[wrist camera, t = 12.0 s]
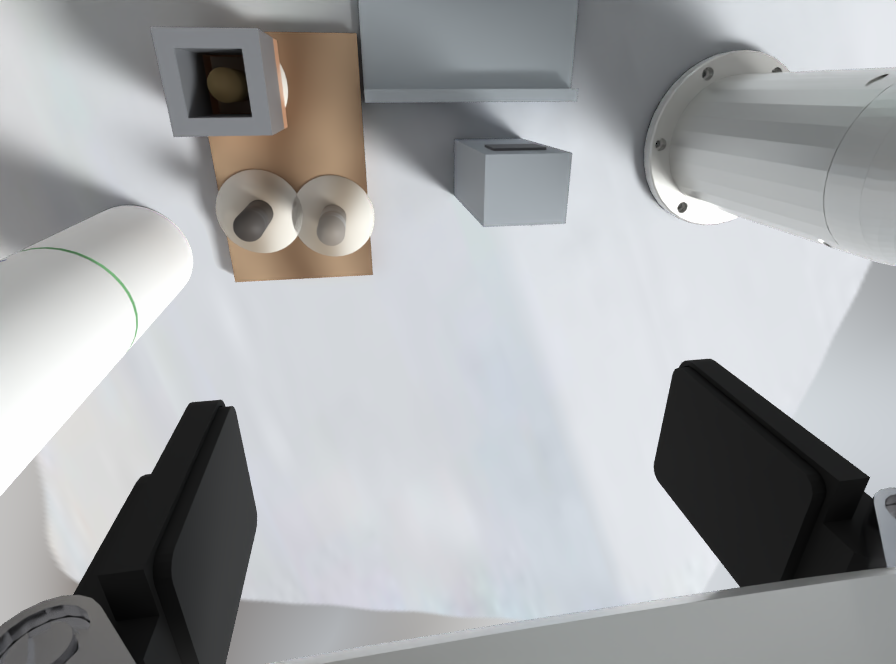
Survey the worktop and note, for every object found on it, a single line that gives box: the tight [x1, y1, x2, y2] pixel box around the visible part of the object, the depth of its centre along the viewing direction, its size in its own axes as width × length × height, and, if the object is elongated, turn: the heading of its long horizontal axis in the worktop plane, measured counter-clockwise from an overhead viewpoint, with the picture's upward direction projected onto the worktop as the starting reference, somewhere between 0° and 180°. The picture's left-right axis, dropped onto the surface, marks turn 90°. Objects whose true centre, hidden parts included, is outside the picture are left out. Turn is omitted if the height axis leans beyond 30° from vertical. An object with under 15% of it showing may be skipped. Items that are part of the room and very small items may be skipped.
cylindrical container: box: [0, 205, 193, 496], centre depth 26 cm, size 7×7×25 cm
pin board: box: [207, 32, 374, 282], centre depth 34 cm, size 11×16×6 cm
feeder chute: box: [358, 0, 579, 103], centre depth 34 cm, size 14×8×2 cm, turn 89°
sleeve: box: [150, 27, 288, 137], centre depth 29 cm, size 5×5×7 cm
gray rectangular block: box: [454, 138, 572, 227], centre depth 34 cm, size 5×4×10 cm
